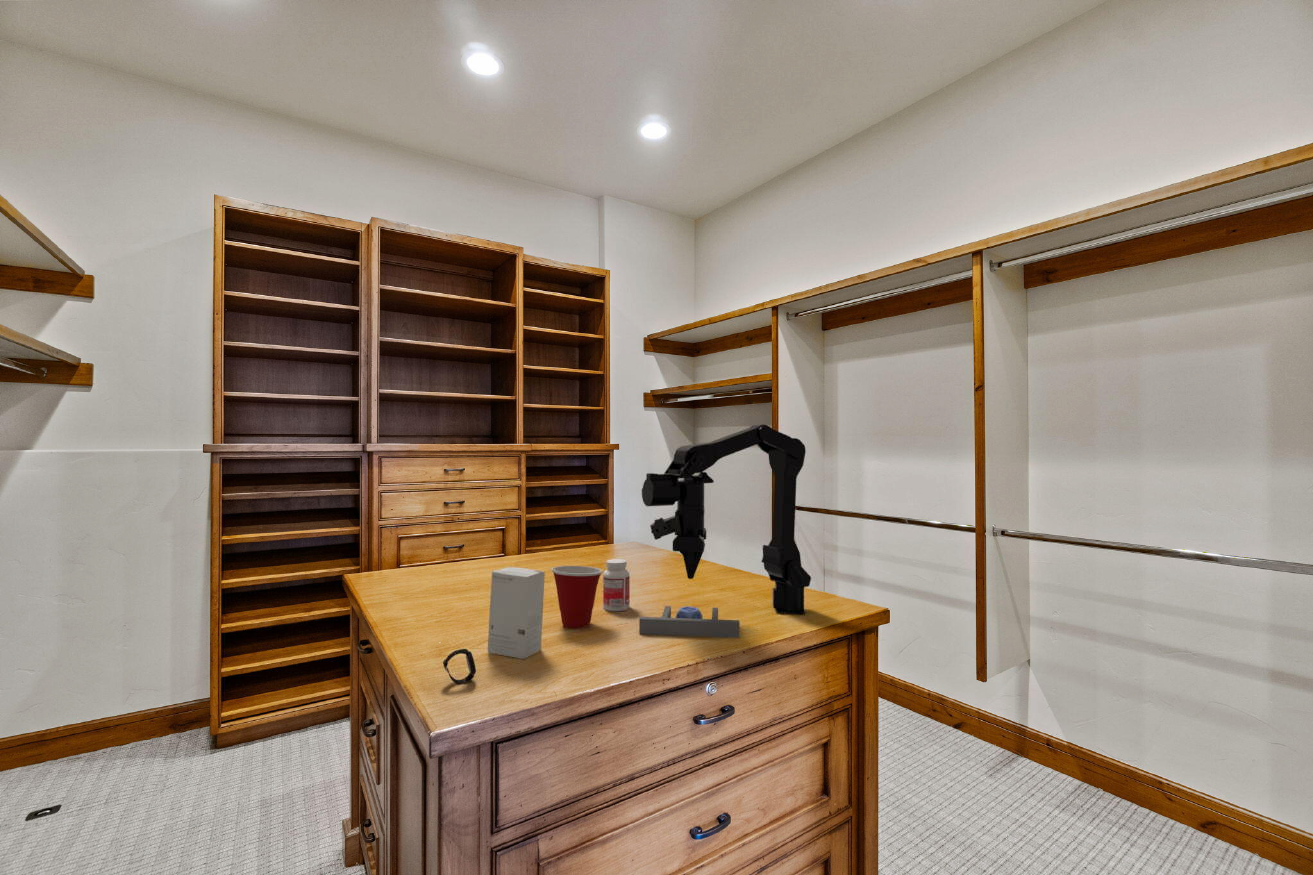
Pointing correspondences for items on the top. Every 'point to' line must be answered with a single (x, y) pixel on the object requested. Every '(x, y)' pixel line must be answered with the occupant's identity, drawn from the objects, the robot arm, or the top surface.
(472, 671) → the smartwatch
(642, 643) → the top surface
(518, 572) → the skincare box
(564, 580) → the plastic cup
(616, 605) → the pill bottle
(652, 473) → the robot arm
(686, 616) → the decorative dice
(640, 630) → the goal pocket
